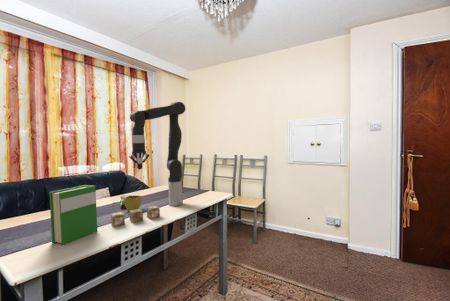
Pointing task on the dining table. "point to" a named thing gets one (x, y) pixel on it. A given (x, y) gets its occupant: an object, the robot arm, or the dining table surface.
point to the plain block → (136, 215)
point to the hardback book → (73, 213)
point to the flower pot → (132, 202)
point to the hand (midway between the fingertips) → (139, 169)
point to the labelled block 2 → (153, 212)
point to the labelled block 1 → (117, 219)
